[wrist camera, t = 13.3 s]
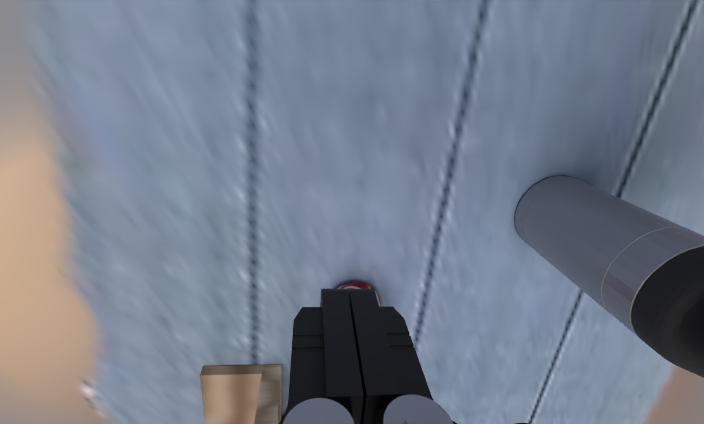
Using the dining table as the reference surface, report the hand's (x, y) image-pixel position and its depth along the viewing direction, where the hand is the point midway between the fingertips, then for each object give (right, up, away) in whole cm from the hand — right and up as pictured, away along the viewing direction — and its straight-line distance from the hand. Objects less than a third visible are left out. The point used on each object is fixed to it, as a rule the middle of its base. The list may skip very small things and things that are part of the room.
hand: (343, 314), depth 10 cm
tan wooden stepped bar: (-15, -29, +42) cm, 53 cm away
